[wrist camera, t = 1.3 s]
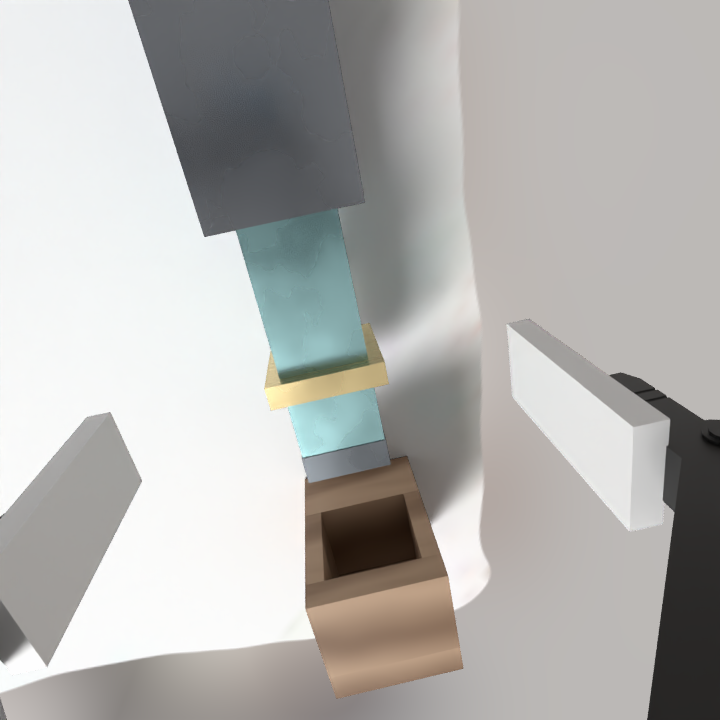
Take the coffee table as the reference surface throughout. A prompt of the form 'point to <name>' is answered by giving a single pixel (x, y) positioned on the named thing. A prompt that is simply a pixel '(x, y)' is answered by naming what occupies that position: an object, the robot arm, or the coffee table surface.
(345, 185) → the sleeve
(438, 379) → the coffee table surface
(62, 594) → the robot arm
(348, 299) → the teal square bar
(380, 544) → the socket
